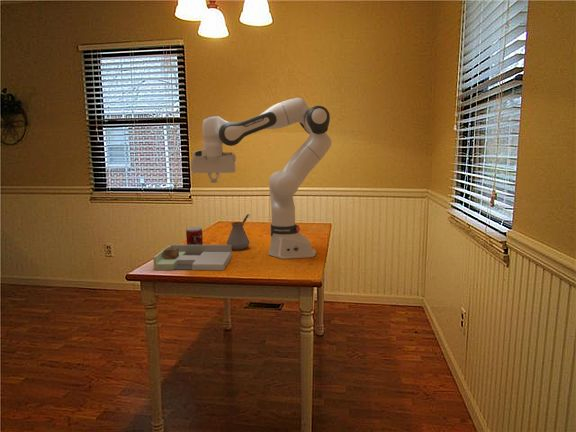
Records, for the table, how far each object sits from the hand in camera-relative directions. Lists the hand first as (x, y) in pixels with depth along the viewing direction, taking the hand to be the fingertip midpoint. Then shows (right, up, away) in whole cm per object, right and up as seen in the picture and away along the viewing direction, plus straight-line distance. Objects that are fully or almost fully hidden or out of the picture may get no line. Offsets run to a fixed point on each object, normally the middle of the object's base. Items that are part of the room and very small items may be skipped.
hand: (214, 182), depth 185 cm
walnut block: (-17, -34, -10) cm, 39 cm away
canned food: (-12, -33, +12) cm, 37 cm away
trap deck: (-7, -36, -10) cm, 38 cm away
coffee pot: (+11, -31, +21) cm, 39 cm away
